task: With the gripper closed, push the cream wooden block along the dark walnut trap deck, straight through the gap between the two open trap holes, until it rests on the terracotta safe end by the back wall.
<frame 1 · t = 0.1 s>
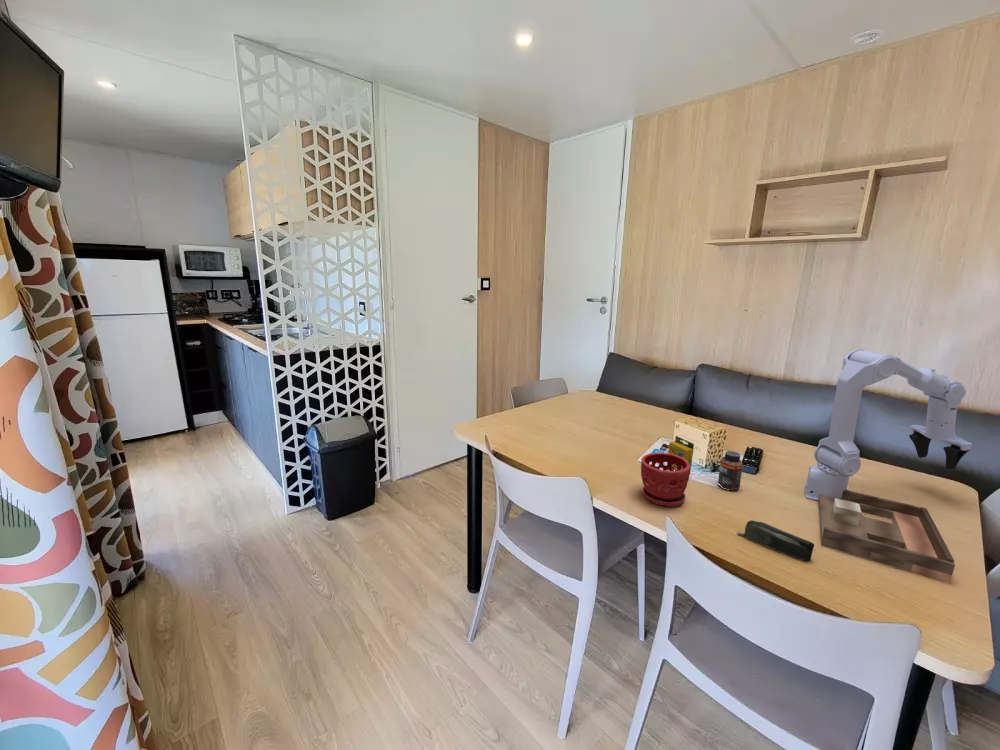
hand: (936, 462, 122), 11 cm above the table, tool pointing down, fingers open, 7 cm apart
supplement bottle: (728, 487, 128), on the table
mobile phone: (772, 548, 100), on the table
plant pot: (661, 498, 122), on the table
crayon box: (677, 473, 137), on the table
block: (844, 518, 108), point 2 cm above the table, touching trap deck
trap deck: (873, 533, 105), on the table
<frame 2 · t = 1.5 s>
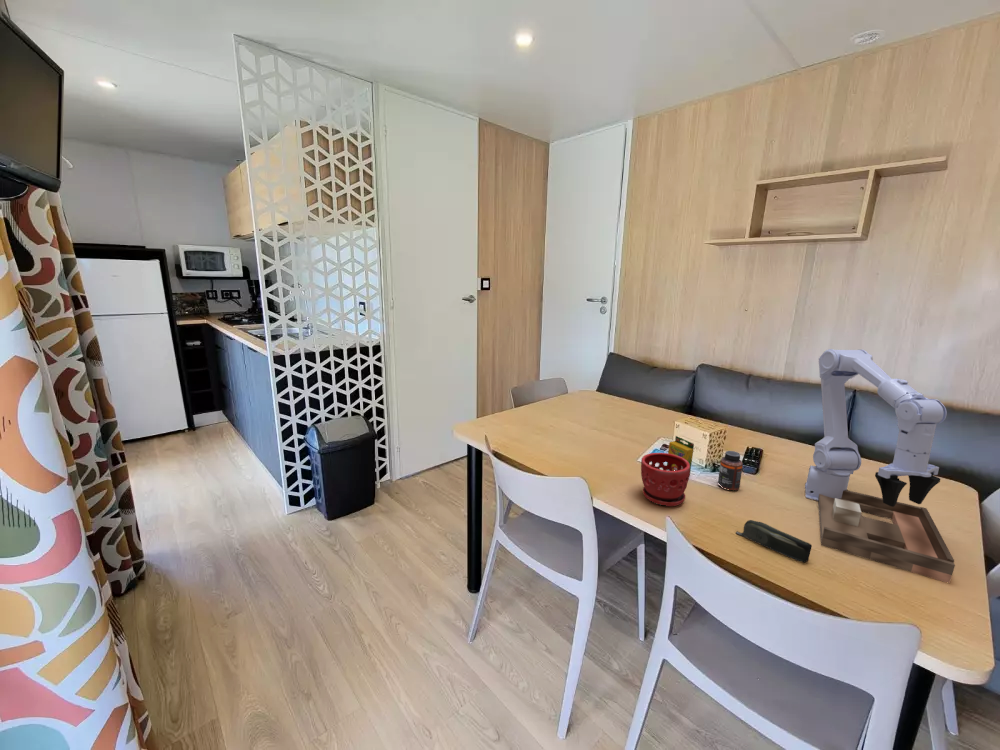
hand: (901, 503, 99), 11 cm above the table, tool pointing down, fingers open, 7 cm apart
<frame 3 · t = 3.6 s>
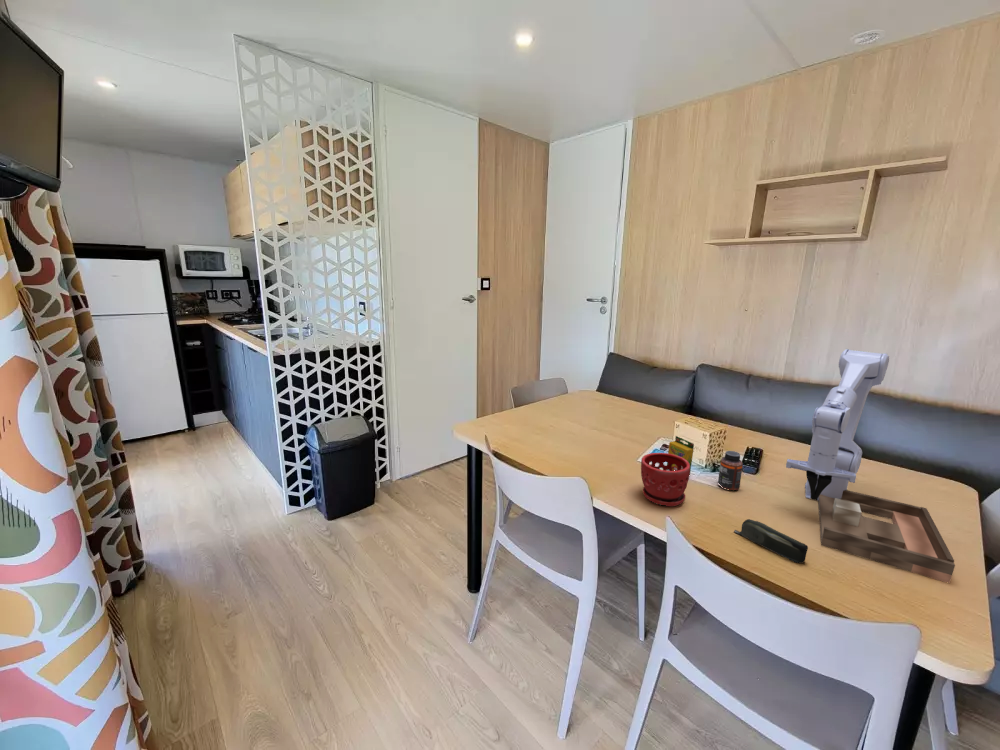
hand: (813, 498, 111), 6 cm above the table, tool pointing down, fingers closed
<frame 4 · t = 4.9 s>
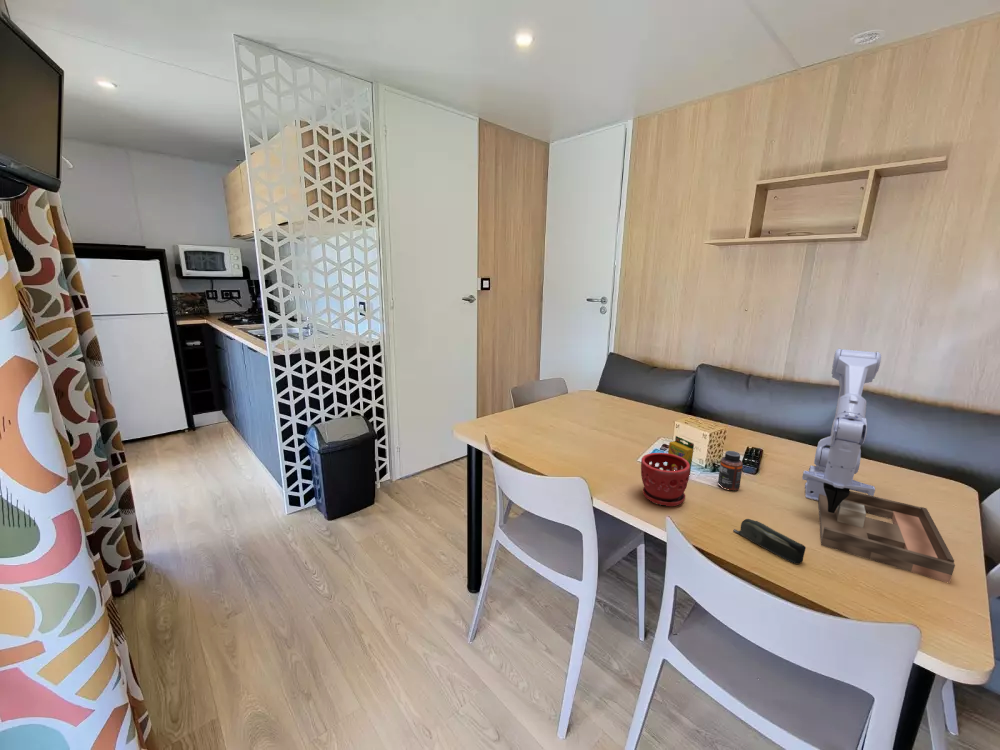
hand: (830, 510, 110), 3 cm above the table, tool pointing down, fingers closed
block: (849, 520, 108), point 2 cm above the table, touching gripper, trap deck
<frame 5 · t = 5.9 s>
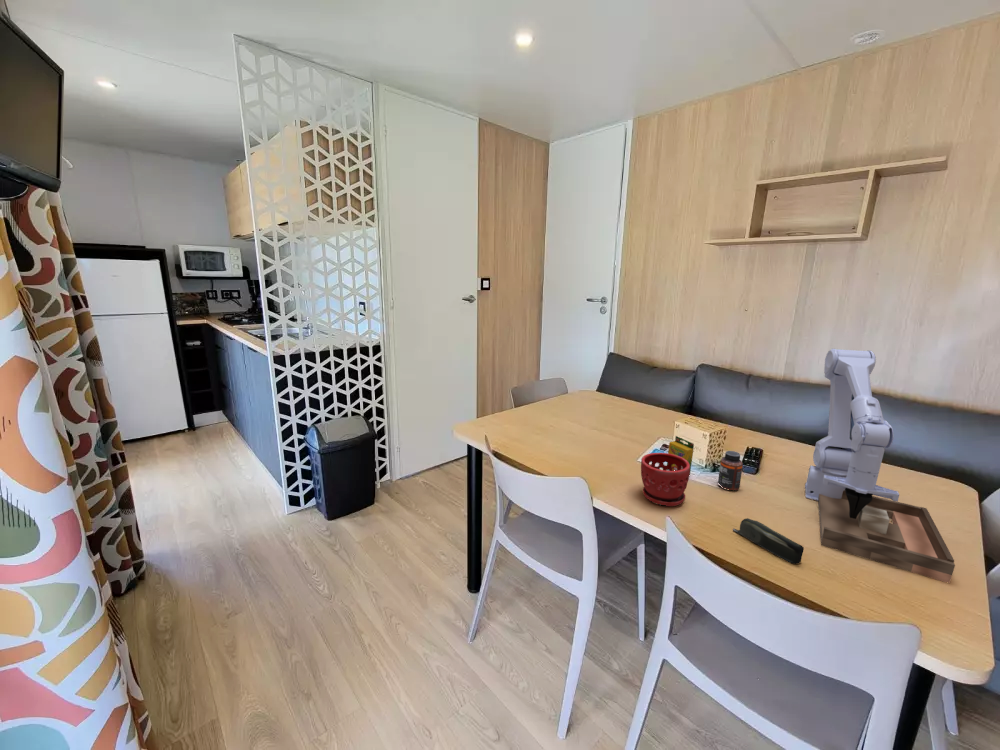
hand: (852, 516, 107), 3 cm above the table, tool pointing down, fingers closed
block: (871, 525, 105), point 2 cm above the table, touching gripper
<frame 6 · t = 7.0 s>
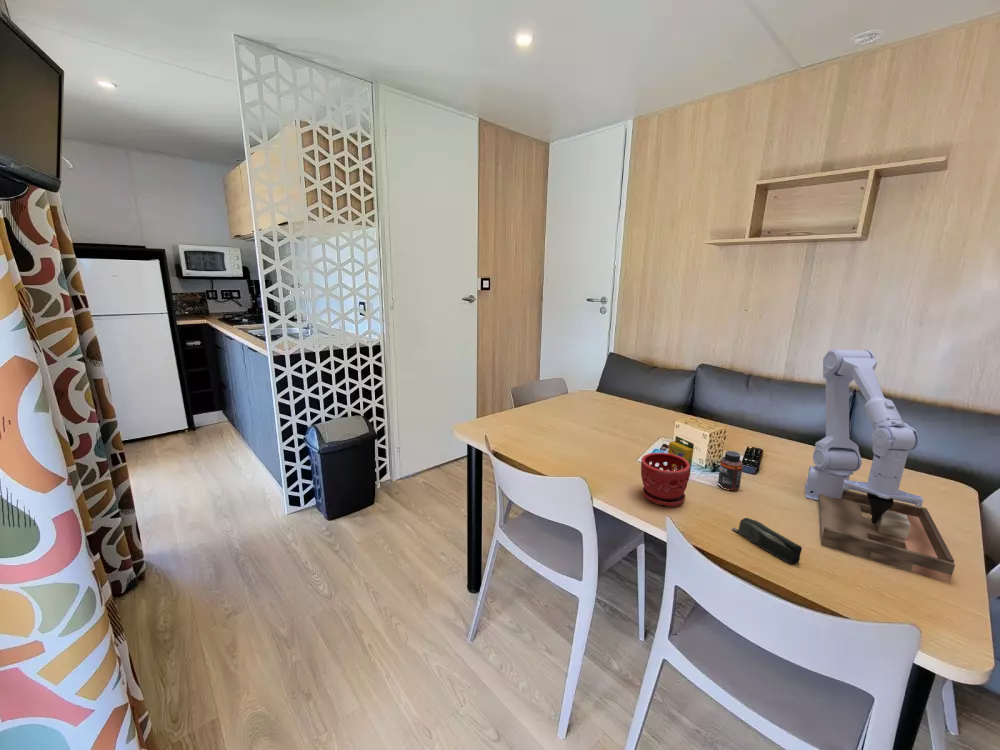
hand: (873, 521, 105), 3 cm above the table, tool pointing down, fingers closed
block: (890, 530, 103), point 2 cm above the table, touching gripper
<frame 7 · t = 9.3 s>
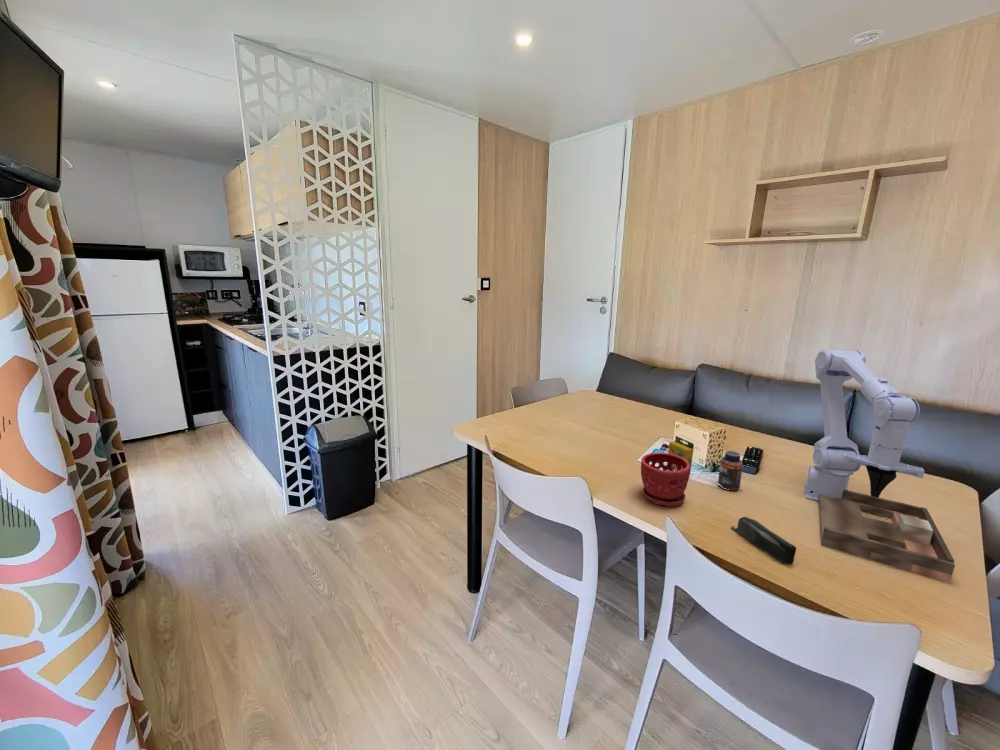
hand: (874, 495, 104), 10 cm above the table, tool pointing down, fingers closed
block: (912, 536, 101), point 2 cm above the table, touching trap deck
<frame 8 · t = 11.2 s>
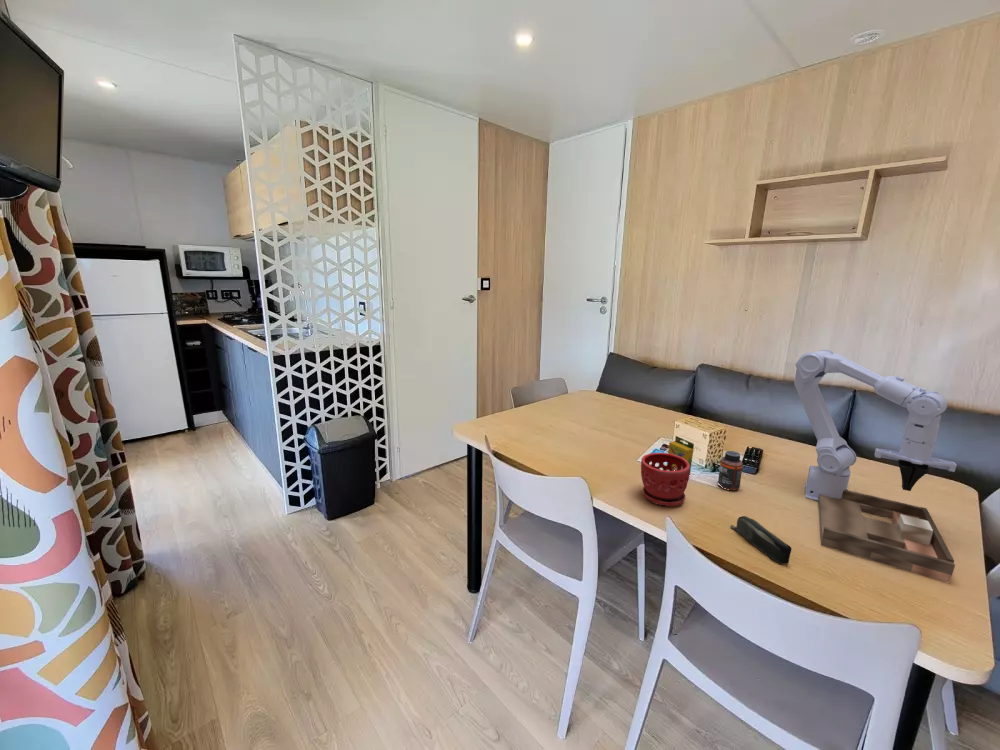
hand: (906, 489, 107), 10 cm above the table, tool pointing down, fingers closed
at the end: block inside the target area on the trap deck (0.1 cm from its centre), point 2.0 cm above the trap deck's base; block tilted 0° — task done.
